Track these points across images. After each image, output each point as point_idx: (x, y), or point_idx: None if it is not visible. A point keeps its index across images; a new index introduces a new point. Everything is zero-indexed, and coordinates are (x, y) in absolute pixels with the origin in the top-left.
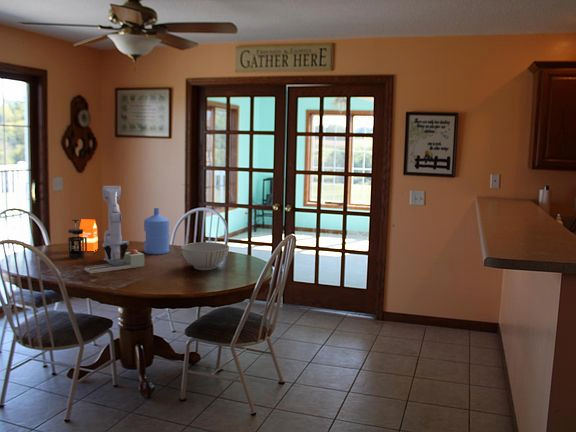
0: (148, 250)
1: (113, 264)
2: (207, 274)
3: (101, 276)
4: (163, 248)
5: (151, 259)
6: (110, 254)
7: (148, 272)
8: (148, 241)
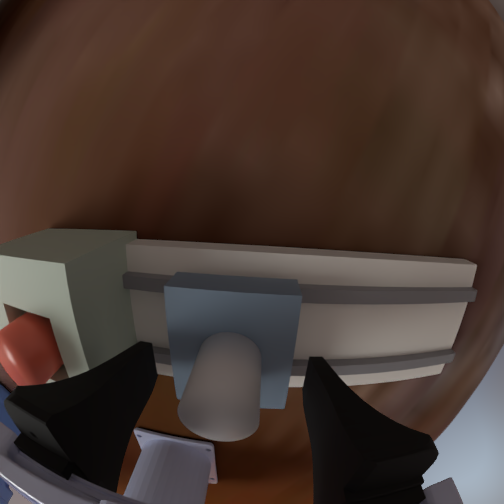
0: None
1: (298, 285)
2: None
3: (454, 127)
4: None
5: None
6: (331, 392)
7: (113, 33)
8: None
